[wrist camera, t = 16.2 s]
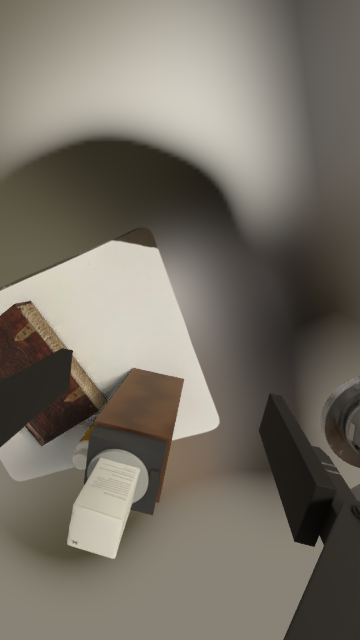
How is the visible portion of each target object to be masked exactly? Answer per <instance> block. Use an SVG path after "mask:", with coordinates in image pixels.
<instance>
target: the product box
mask: <svg viewBox="0 0 360 640" xmlns="http://www.w3.org/2000/svg"><path fill="white" fill-rule="evenodd" d="M139 473H140V469H139V468H137V467H133V466H130V465H126V464H122V463H119V462H115V461H112V460H108V459H105V458H99V460H98V462H97V464H96V466H95V468H94V469H93V471H92V473H91V475H90V476H89V478H88V480H87V482H86V483H85V485H84V487H83V489H82V490H81V492H80V494H79V495H78V497H77V499H76V501H75V502H74V504H73V509H72V516H71V521H70V526H69V534H68V540H67V544H68V545H70V546H73V547H77V548H80V549H83V550H87V551H89V552H93V553H96V554H99V555H102V556H105V557H109V558H112V559H115V557H116V554H117V550H118V547H119V543H120V540H121V536H122V534H123V530H124V527H125V524H126V521H127V518H128V515H129V512H130V509H131V506H132V502H133V497H134V492H135V488H136V483H137V480H138V476H139Z"/></svg>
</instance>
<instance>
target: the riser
mask: <svg viewBox="0 0 360 640" xmlns="http://www.w3.org/2000/svg"><path fill="white" fill-rule="evenodd" d="M183 382H184V379H181V378H177V377H172V376H168V375H163V374H158V373H154V372H149V371H145V370H140V369H136V368H133V369H132V371H131V372H130V373H129V375H128V376H127V377H126V379H125V380H124V381H123V383H122V384H121V386H120V387H119V388H118V390H117V391H116V392H115V394H114V395H113V396H112V398H111V399H110V400H109V402H108V403H107V404H106V406H105V407H104V409H103V410H102V411H101V413H100V414H99V415H98V417H97V418H96V419H95V421H94V428H95V427H96V425H102V426H106V427H110V428H114V429H118V430H123V431H127V432H131V433H135V434H139V435H144V436H148V437H152V438H156V439H160V440H165V441H168V443H167V448H166V453H165V458H164V463H163V468H162V473H161V478H160V483H159V488H158V493H157V498H156V502H159V500H160V495H161V490H162V484H163V479H164V475H165V470H166V465H167V461H168V456H169V451H170V446H171V441H172V436H173V431H174V426H175V422H176V417H177V412H178V407H179V402H180V397H181V392H182V387H183ZM93 430H94V429H93Z"/></svg>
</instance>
